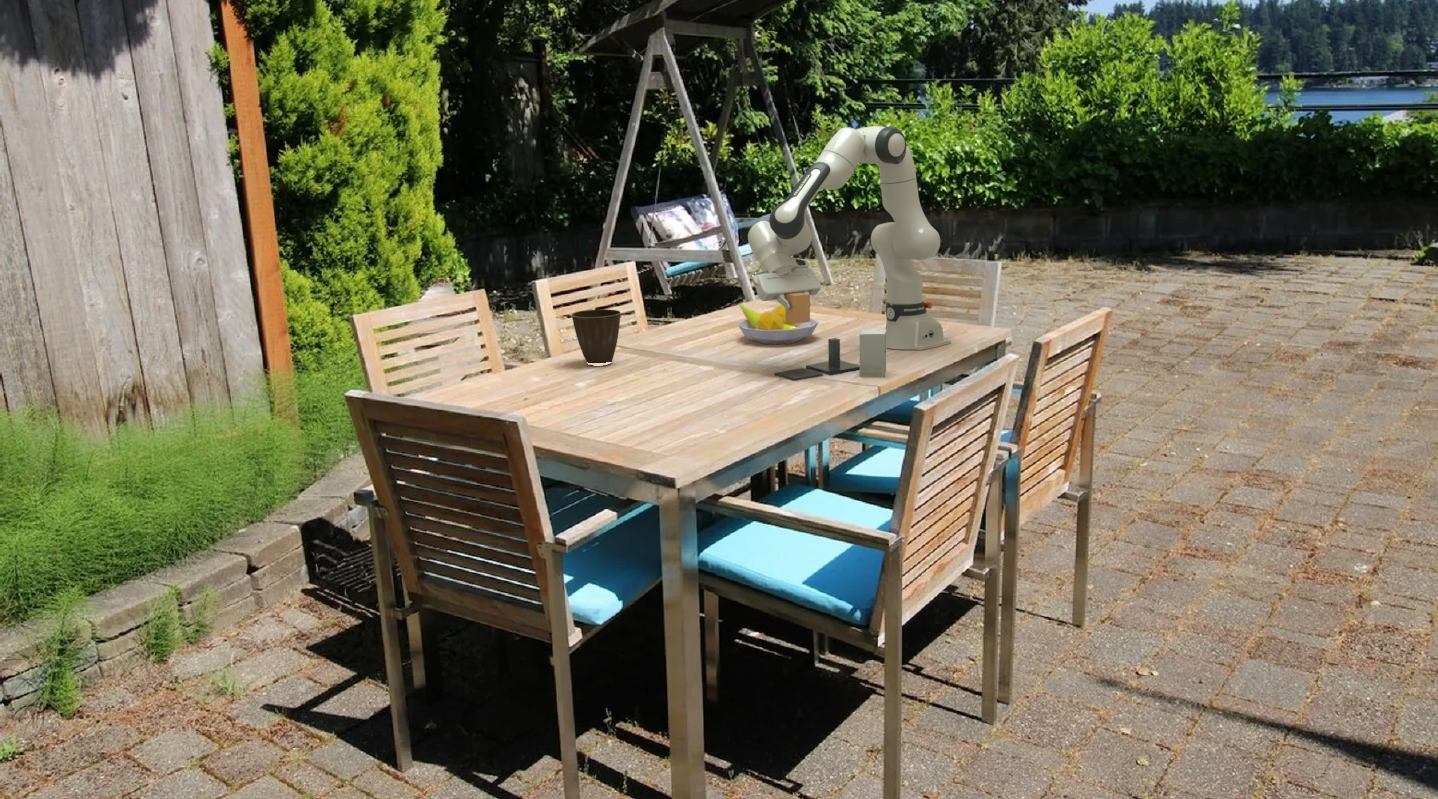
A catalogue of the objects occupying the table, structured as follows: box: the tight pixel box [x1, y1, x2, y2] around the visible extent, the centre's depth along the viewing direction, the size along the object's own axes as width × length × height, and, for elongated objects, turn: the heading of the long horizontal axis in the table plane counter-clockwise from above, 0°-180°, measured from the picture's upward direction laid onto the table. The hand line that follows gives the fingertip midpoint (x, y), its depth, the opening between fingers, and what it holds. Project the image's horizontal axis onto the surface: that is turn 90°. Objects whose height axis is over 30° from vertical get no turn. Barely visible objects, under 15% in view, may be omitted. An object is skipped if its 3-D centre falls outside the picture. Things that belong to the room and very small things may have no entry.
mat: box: [774, 367, 824, 382], centre depth 349 cm, size 10×10×1 cm
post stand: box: [805, 337, 860, 376], centre depth 355 cm, size 12×12×9 cm
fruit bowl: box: [737, 303, 820, 345], centre depth 402 cm, size 28×27×11 cm
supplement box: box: [859, 329, 887, 378], centre depth 346 cm, size 7×7×13 cm
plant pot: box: [571, 309, 621, 363], centre depth 372 cm, size 15×15×16 cm
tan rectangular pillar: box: [785, 292, 811, 324], centre depth 344 cm, size 5×5×8 cm
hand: (799, 307), depth 344 cm, fingers closed on tan rectangular pillar, 5 cm apart
